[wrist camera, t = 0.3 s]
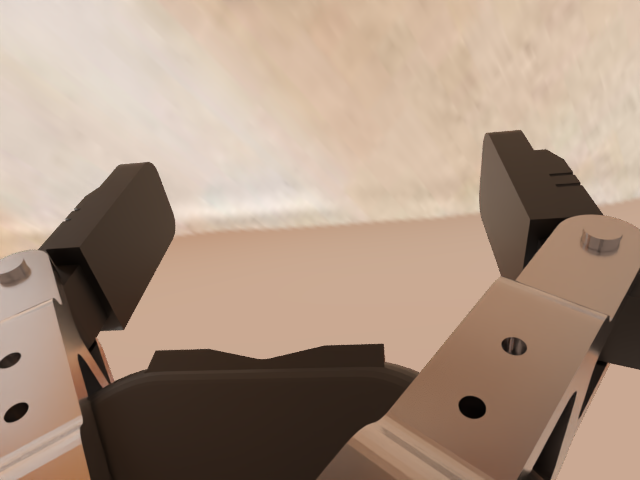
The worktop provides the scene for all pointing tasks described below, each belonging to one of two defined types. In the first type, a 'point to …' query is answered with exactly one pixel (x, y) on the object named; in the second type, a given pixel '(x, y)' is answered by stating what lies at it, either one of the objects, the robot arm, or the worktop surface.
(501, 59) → the worktop surface
